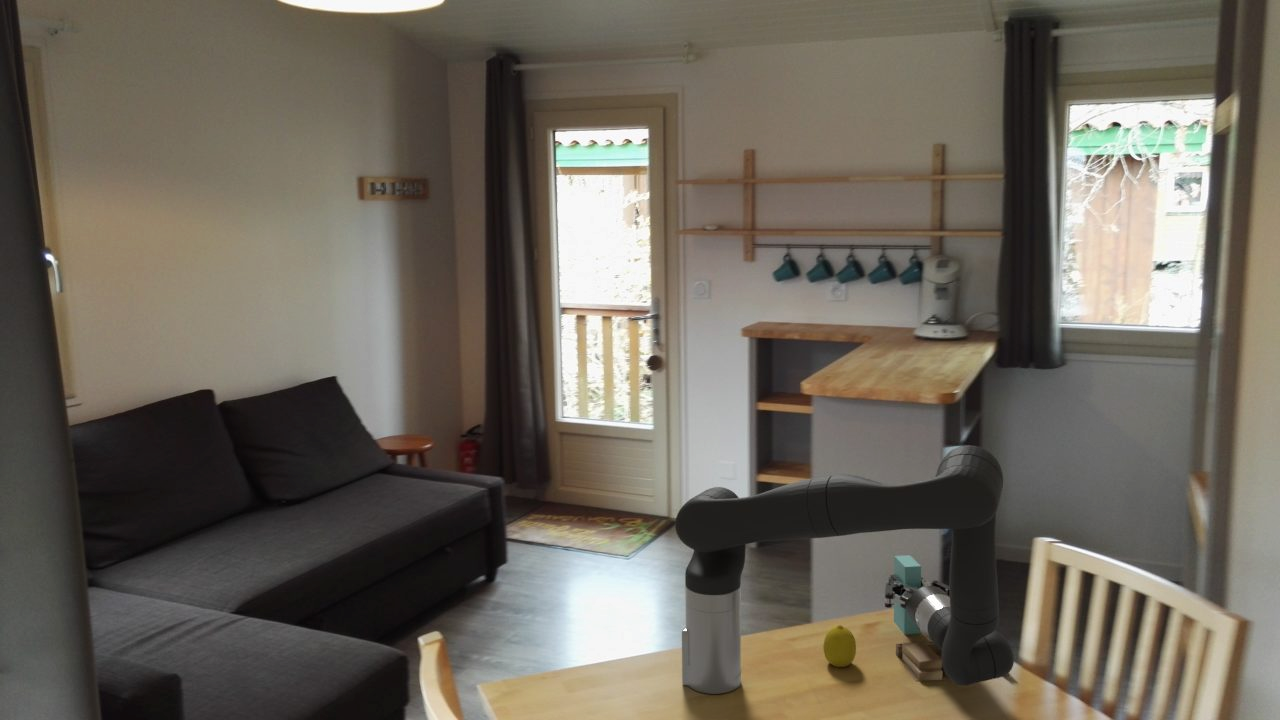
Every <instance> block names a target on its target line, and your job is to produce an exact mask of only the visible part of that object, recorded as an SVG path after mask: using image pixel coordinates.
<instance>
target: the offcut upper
mask: <svg viewBox="0 0 1280 720" xmlns="http://www.w3.org/2000/svg"><path fill="white" fill-rule="evenodd" d="M905 643H906V644H902V643H901V644H902V652H903V654H904V655H905V656H906V657H907V658H908V659H909V660H910V661H911V662H912V663H913V664H914V665H915V666H916V667H917V668H918V669H919V670H926V669H937V668H942V659H941V658H940V657H939V656H938V655H937V654H936V653H935V652H934V651H933V650H932V649H931V648H930V647H929V646H928V645H927V644H926V643H925V641H919V642H905Z"/></svg>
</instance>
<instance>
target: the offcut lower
mask: <svg viewBox="0 0 1280 720" xmlns="http://www.w3.org/2000/svg"><path fill="white" fill-rule="evenodd" d="M902 660H903V661H904V662H905V663H906V665H907V666H908V667H909V669H910V670H911V671H912V673H913V674H914V675H915V676H916V678H917V679H918V680H919V681H918V682H926V680H930V681H943V680H942V673H943V671H942V670H941V669H940V668H937V669H926V670H919V669H918V668H917V667H916V666H915V665H914V664H913V663H912V662H911V661H910V660H909V659H908V658H907V657H906V656H905V655H904V654H903V658H902Z"/></svg>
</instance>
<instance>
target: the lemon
mask: <svg viewBox="0 0 1280 720" xmlns="http://www.w3.org/2000/svg"><path fill="white" fill-rule="evenodd" d="M856 644H857V643H856V638H855V636H854V634H853V632H852V631H851V630H850V629H848V628H847V627H846V626H843V625H842V624H838V625H837V626H834V627H832V628H830V629H829V630H827V632H826V634H825V637H824V640H823V654H824V658H825V659H826V661H827V662H828V663H829V664H830V665H832V666H833V667H836V668H845V667H847V666H849V665H851V664H852V662H853V661H854V659H855V658H856V654H857V645H856Z"/></svg>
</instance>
